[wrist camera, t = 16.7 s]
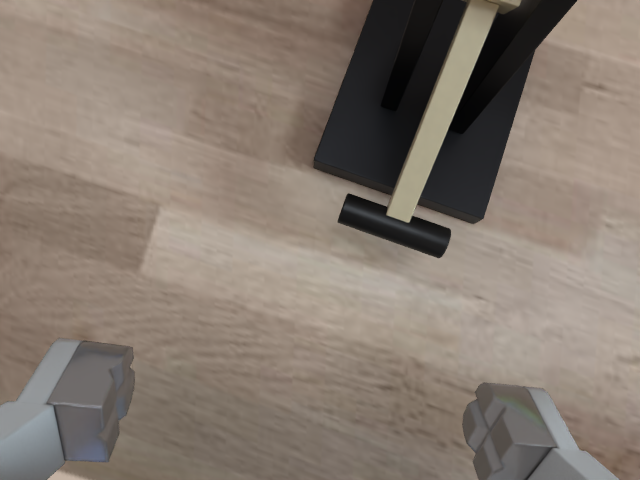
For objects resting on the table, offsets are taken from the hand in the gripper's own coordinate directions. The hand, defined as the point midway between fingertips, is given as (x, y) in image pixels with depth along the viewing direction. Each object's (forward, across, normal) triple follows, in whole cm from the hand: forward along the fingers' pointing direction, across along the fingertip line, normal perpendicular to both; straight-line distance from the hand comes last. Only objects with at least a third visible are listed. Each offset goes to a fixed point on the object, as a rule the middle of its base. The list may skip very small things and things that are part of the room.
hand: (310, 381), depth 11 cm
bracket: (+20, -7, -2) cm, 22 cm away
